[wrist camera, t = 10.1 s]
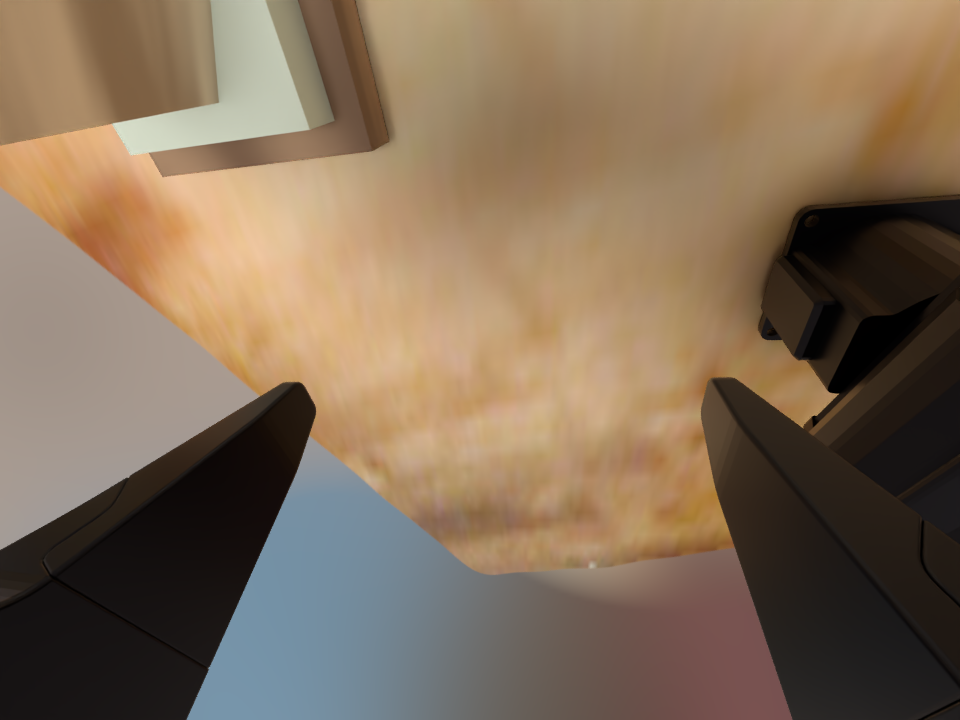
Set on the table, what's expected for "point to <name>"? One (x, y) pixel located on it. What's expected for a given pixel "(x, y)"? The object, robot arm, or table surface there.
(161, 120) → the sage slab
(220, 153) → the walnut base slab
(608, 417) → the table surface
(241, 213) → the table surface
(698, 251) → the table surface
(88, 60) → the oak block
